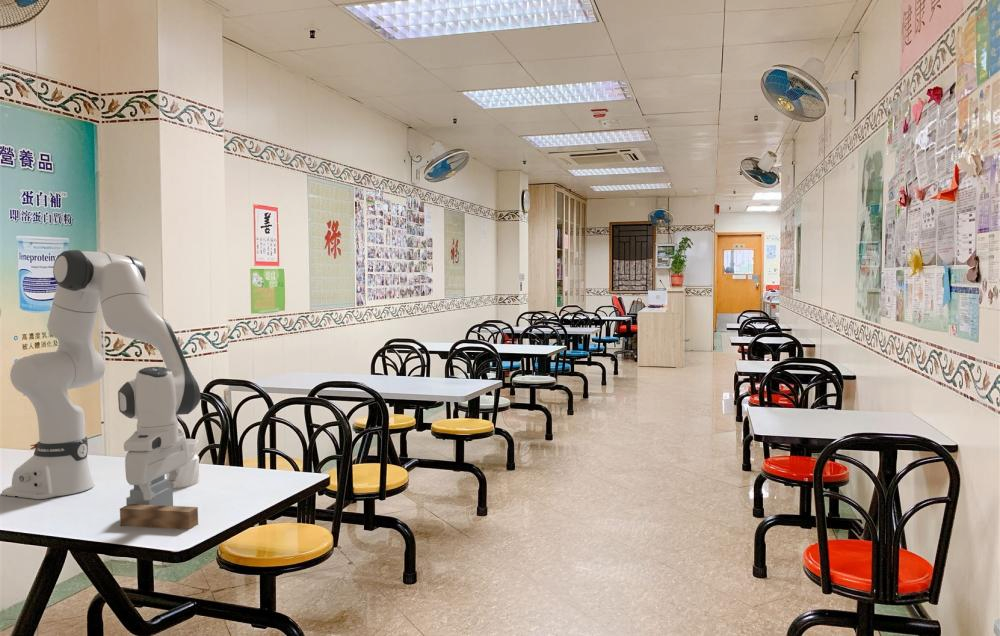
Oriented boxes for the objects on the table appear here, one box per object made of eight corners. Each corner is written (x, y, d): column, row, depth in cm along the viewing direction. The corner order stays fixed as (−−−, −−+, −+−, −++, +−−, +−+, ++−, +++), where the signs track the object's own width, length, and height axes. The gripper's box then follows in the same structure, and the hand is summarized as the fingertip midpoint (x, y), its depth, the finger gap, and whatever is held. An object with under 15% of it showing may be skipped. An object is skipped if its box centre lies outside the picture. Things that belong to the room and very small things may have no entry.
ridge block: (127, 518, 176) (125, 481, 175) (151, 505, 186) (150, 471, 185) (149, 518, 175) (148, 482, 175) (173, 505, 185) (171, 471, 185)
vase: (191, 477, 212) (189, 437, 212) (205, 482, 206) (204, 441, 206) (161, 483, 206) (159, 442, 205) (175, 489, 200) (173, 447, 199)
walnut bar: (120, 527, 170) (119, 508, 170) (130, 522, 174) (129, 503, 174) (189, 530, 167) (188, 511, 167) (198, 525, 171) (197, 507, 171)
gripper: (170, 427, 180) (172, 481, 181) (118, 445, 160) (121, 506, 161) (194, 427, 180) (196, 481, 180) (145, 445, 159) (148, 506, 160)
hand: (160, 493), depth 170 cm, fingers open, 8 cm apart
